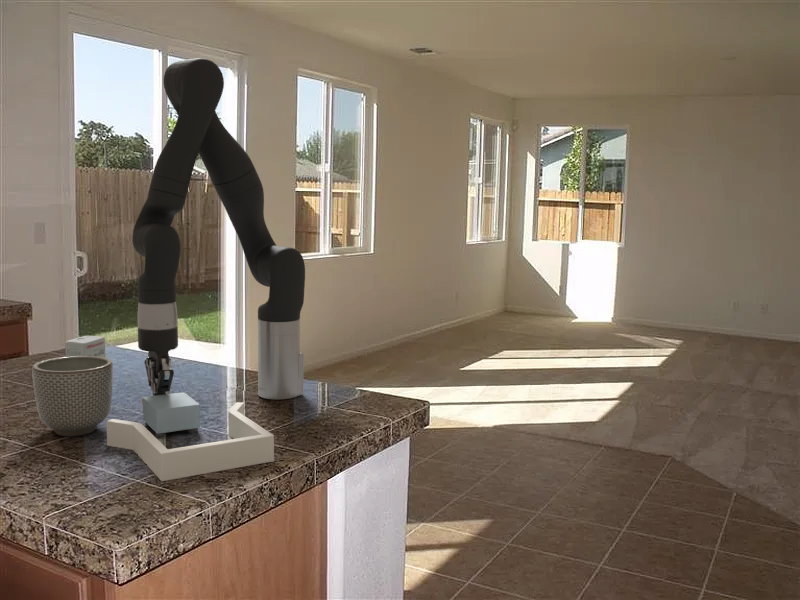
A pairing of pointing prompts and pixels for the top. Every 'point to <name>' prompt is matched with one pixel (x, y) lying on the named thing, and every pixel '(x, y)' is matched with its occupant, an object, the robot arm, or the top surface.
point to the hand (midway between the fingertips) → (159, 410)
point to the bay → (196, 447)
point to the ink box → (86, 346)
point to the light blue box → (171, 413)
